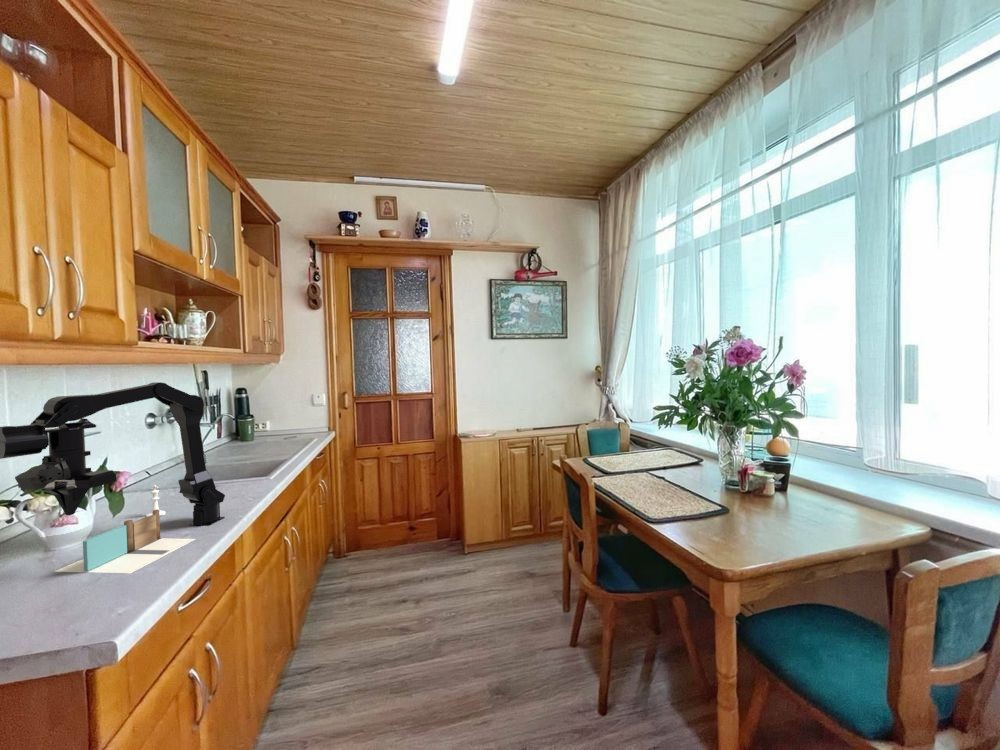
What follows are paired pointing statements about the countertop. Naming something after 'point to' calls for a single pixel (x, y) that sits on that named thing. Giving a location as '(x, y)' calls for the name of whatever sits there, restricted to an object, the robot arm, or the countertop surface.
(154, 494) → the chess piece
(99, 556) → the mint green upright panel
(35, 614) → the countertop surface
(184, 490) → the robot arm
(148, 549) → the card
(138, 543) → the fence fixed
